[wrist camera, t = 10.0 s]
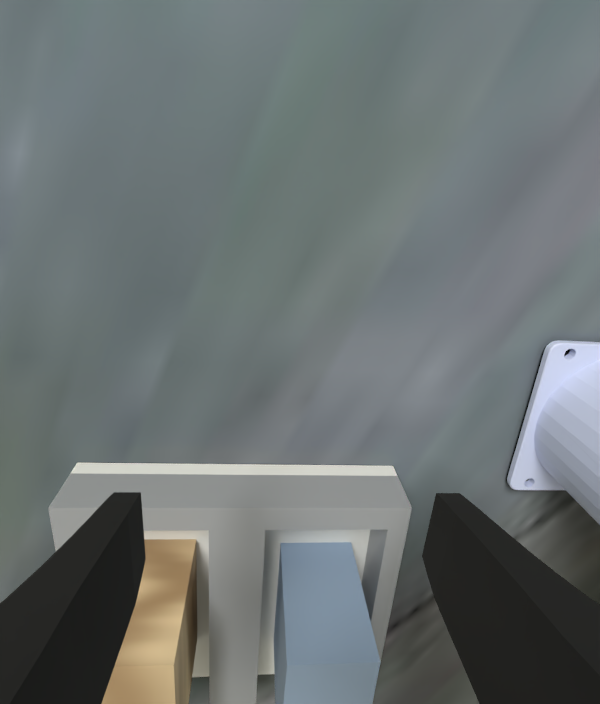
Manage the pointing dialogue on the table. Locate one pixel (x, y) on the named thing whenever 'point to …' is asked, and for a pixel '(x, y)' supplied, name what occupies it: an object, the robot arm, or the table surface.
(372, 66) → the table surface
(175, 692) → the maple plug block
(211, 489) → the grey socket board
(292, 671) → the slate-blue plug block
